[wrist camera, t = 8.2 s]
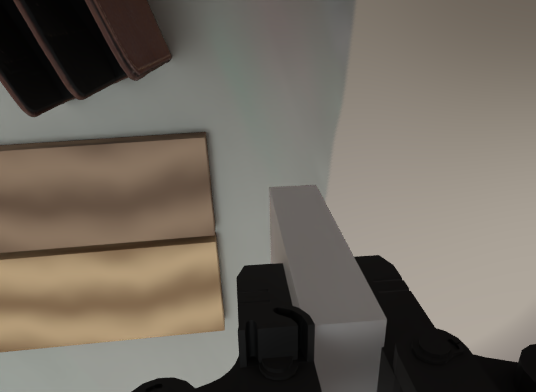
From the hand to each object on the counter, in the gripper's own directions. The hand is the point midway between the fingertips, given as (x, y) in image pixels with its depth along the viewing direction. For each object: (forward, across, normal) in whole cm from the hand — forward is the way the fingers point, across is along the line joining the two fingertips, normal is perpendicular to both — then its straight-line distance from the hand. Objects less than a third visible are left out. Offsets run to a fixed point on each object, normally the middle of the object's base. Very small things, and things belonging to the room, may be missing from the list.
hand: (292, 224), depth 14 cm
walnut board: (+25, -16, -8) cm, 31 cm away
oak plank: (+24, -16, -18) cm, 34 cm away
